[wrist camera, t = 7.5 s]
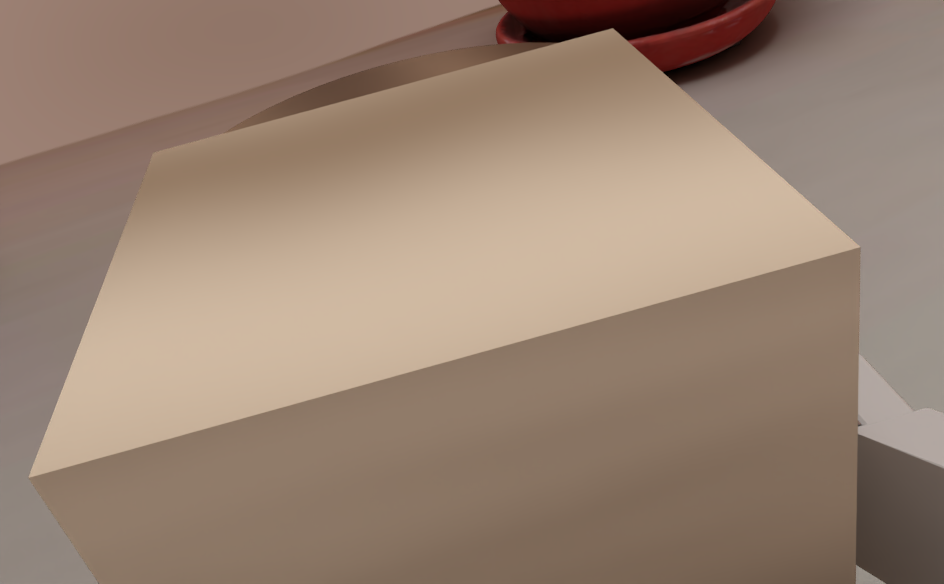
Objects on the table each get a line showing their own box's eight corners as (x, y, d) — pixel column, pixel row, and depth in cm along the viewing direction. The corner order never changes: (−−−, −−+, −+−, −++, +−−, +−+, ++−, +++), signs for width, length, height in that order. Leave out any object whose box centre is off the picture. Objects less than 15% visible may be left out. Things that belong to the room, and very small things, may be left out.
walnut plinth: (315, 583, 18) (224, 387, 15) (175, 312, 28) (106, 167, 25) (811, 302, 21) (807, 107, 19) (527, 155, 32) (500, 16, 29)
